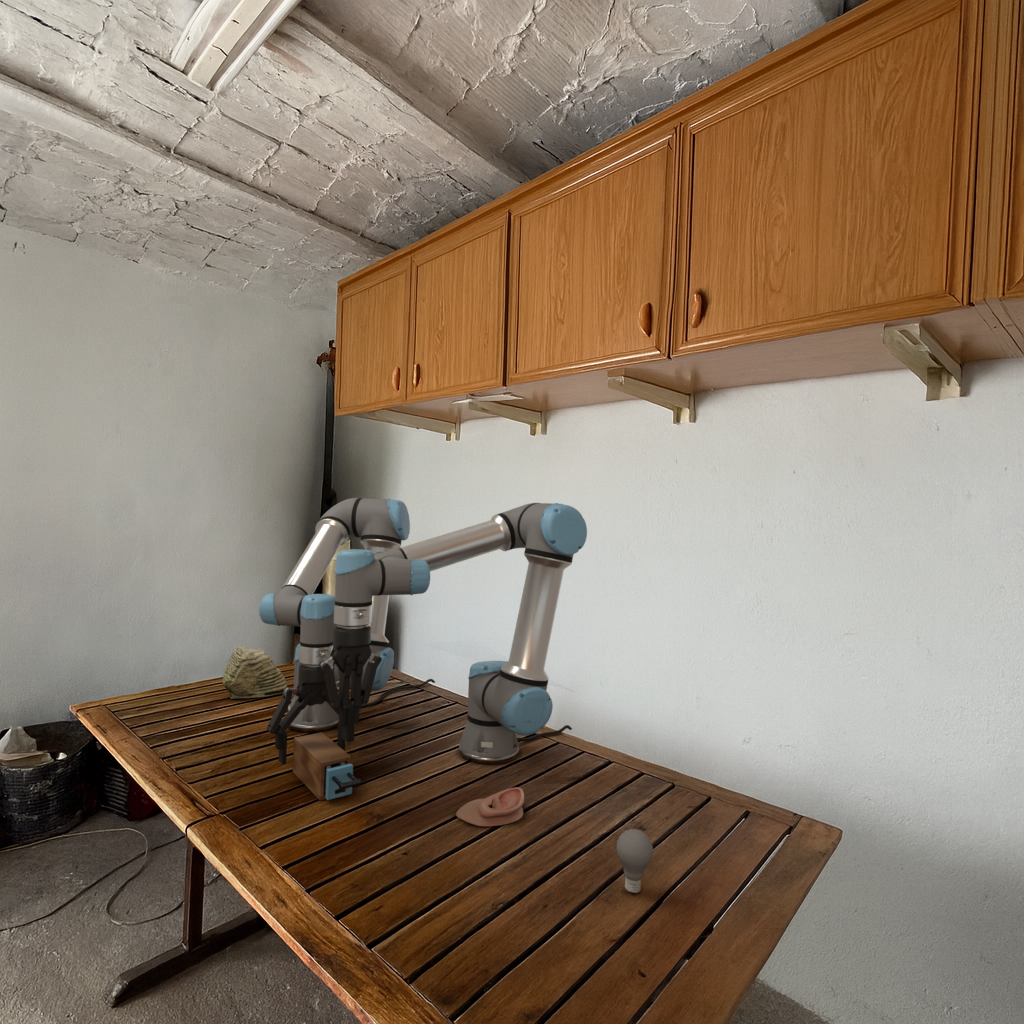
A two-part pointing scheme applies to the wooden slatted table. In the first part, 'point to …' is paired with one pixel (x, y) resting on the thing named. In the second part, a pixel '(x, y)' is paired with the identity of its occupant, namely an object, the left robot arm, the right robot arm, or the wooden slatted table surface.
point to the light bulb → (634, 857)
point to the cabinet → (316, 760)
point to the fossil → (252, 674)
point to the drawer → (339, 780)
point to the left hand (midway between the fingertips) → (312, 756)
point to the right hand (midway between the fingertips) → (348, 739)
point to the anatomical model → (494, 808)
